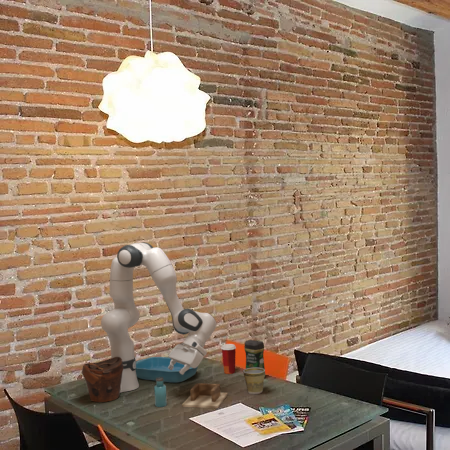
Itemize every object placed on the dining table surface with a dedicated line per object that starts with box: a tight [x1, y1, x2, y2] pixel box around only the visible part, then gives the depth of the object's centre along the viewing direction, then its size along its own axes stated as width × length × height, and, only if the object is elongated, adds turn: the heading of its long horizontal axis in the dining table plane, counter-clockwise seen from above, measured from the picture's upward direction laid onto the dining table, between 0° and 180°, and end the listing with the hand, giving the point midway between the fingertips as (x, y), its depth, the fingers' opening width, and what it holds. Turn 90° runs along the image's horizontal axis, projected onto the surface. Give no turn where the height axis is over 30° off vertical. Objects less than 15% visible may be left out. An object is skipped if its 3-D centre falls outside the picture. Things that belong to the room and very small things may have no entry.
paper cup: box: [220, 343, 237, 375], centre depth 315 cm, size 8×8×14 cm
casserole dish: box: [136, 356, 199, 384], centre depth 313 cm, size 37×22×7 cm, turn 61°
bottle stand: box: [181, 382, 229, 409], centre depth 272 cm, size 16×18×6 cm
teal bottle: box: [153, 377, 168, 408], centre depth 269 cm, size 5×5×12 cm
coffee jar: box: [243, 339, 266, 378], centre depth 304 cm, size 10×8×19 cm
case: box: [81, 357, 123, 403], centre depth 282 cm, size 18×20×18 cm
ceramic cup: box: [242, 368, 266, 395], centre depth 283 cm, size 13×10×10 cm
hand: (175, 371), depth 273 cm, fingers open, 8 cm apart
